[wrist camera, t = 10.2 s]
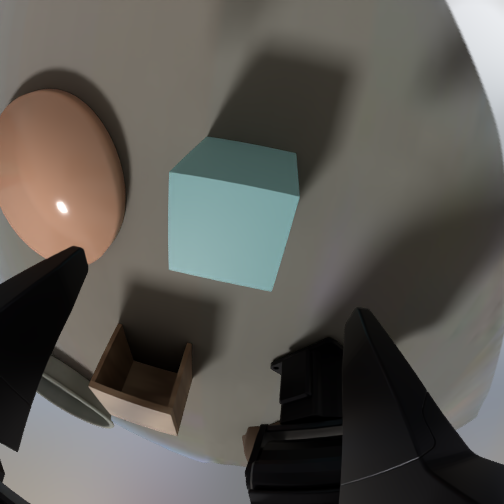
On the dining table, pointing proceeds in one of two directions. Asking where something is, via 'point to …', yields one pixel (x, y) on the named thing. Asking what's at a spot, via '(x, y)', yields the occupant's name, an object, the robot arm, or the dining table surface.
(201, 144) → the block
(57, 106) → the dish
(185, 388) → the brown wooden open box
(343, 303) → the dining table surface
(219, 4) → the dining table surface
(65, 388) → the cake pan
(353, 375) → the robot arm
